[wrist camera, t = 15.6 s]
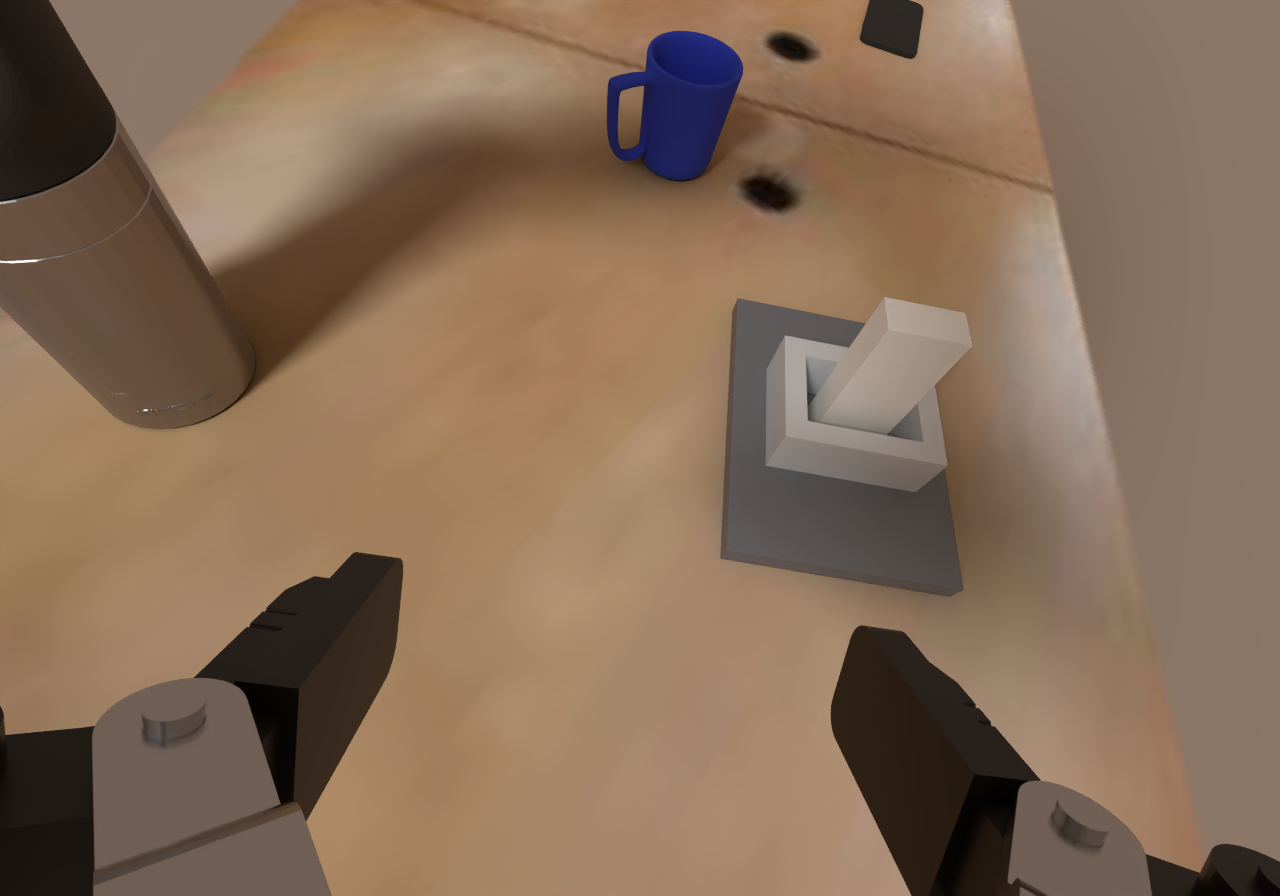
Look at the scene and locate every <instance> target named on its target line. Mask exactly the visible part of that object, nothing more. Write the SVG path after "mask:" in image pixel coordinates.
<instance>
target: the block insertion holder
mask: <svg viewBox="0 0 1280 896" xmlns="http://www.w3.org/2000/svg"><path fill="white" fill-rule="evenodd" d="M864 326H865V324H864V323H859V322H854V321H849V320H844V319H839V318H834V317H829V316H824V315H819V314H814V313H809V312H804V311H799V310H794V309H789V308H784V307H779V306H774V305H769V304H764V303H759V302H753V301H748V300H743V299H737V301H736V304H735V306H734V309H733V312H732V332H731V353H730V374H729V394H728V415H727V435H726V456H725V477H724V497H723V518H722V538H721V559H726V560H732V561H738V562H744V563H750V564H756V565H762V566H768V567H774V568H780V569H786V570H792V571H799V572H805V573H811V574H817V575H823V576H829V577H835V578H841V579H847V580H853V581H859V582H865V583H871V584H877V585H883V586H889V587H895V588H901V589H907V590H913V591H920V592H926V593H932V594H938V595H944V596H952V595H954V594H956V593H958V592H960V591H962V590H963V586H962V579H961V573H960V566H959V560H958V554H957V547H956V541H955V534H954V528H953V522H952V515H951V509H950V502H949V496H948V490H947V483H946V477H945V470H944V468H946V467H947V466H948V464H947V457H946V451H945V445H944V439H943V432H942V426H941V420H940V414H939V407H938V401H937V395H936V389H935V386H934V387H933V388H932V389H931V390H930V391H929V392H928V393H927V394H926V395H925V396H924V397H923V398H922V399H921V400H920V401H919V402H918V403H917V404H916V405H915V406H914V407H913V408H912V410H911V411H910V412H909V413H908V414H907V415H906V416H905V417H904V418H903V419H902V420H901V421H900V422H899V423H898V424H897V425H896V426H895V427H894V428H893V429H892V430H891V431H890V433H889V434H888V435H887V436H886V435H881V434H876V433H870V432H865V431H859V430H854V429H849V428H843V427H838V426H832V425H827V424H821V423H816V422H811V421H808V412H807V407H808V406H809V405H810V403H811V402H812V400H813V399H814V397H815V396H816V395H817V393H818V392H819V390H820V389H821V387H822V386H823V384H824V383H825V382H826V380H827V379H828V377H829V376H830V374H831V373H832V372H833V370H834V369H835V367H836V366H837V364H838V363H839V361H840V360H841V359H842V357H843V356H844V354H845V353H846V351H847V350H848V349H849V347H850V346H851V344H852V343H853V341H854V340H855V338H856V337H857V336H858V334H859V333H860V331H861V330H862V328H863V327H864Z"/></svg>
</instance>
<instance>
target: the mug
mask: <svg viewBox="0 0 1280 896" xmlns="http://www.w3.org/2000/svg"><path fill="white" fill-rule="evenodd" d="M742 74H743V65H742V62H741V60H740V58H739V56H738V55H737V54H736V52H735V51H734V50H733V49H731V48H730V47H729V46H728V45H726V44H725V43H723V42H721V41H719V40H717V39H715V38H713V37H710V36H708V35H705V34H701V33H697V32H690V31H672V32H667V33H664V34H661V35H659V36H657V37H656V38H654V39H653V40H652V41H651V43H650V44H649V47H648V50H647V61H646V72H632V73H627V74H622V75H618V76H615V77H612V78H611V79H610V80H609V82H608V96H607V131H608V139H609V144H610V147H611V149H612V151H613V152H614V154H615V155H616V156H617V157H618V158H619V159H621V160H623V161H631V160H634V159H637V158H638V157H640V156H641V157H642V159H643V161H644V163H645V165H646V166H647V167H648V168H649V169H650V170H651V171H653V172H654V173H655V174H657V175H659V176H661V177H664V178H667V179H671V180H689V179H692V178H695V177H697V176H698V175H700V174H701V173H702V172H703V171H704V170H705V169H706V167H707V166H708V164H709V162H710V160H711V157H712V154H713V152H714V149H715V146H716V144H717V141H718V138H719V136H720V133H721V130H722V128H723V125H724V122H725V120H726V117H727V114H728V112H729V109H730V106H731V104H732V101H733V98H734V96H735V93H736V90H737V88H738V85H739V82H740V80H741V77H742ZM637 86H644V96H643V107H642V119H641V131H640V142H639V144H638V145H637V146H635V147H633V148H631V149H621V148H620V146H619V142H618V108H619V96H620V93H621V91H623V90H626V89H629V88H632V87H637Z"/></svg>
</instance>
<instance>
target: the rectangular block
mask: <svg viewBox="0 0 1280 896" xmlns="http://www.w3.org/2000/svg"><path fill="white" fill-rule="evenodd" d="M971 347H972V341H971V337H970V332H969V327H968V323H967V318H966V313H963V312H958V311H953V310H948V309H943V308H937V307H932V306H927V305H922V304H917V303H912V302H907V301H902V300H897V299H892V298H887V297H884V298H883V300H882V301H881V303H880V304H879V305H878V307H877V308H876V310H875V311H874V313H873V314H872V315H871V317H870V318H869V320H868V321H867V323H866V324H865V326H864V327H863V328H862V330H861V331H860V333H859V334H858V336H857V337H856V338H855V340H854V341H853V343H852V344H851V346H850V347H849V349H848V350H847V351H846V353H845V354H844V356H843V357H842V359H841V360H840V361H839V363H838V364H837V366H836V367H835V369H834V370H833V372H832V373H831V374H830V376H829V377H828V379H827V380H826V382H825V383H824V384H823V386H822V387H821V389H820V390H819V392H818V393H817V395H816V396H815V397H814V399H813V400H812V402H811V403H810V405H809V406H808V407H807V412H808V421H811V422H816V423H821V424H827V425H832V426H838V427H843V428H849V429H854V430H859V431H865V432H870V433H876V434H881V435H886V436H887V435H888V434H889V433H890V431H891V430H892V429H893V428H894V427H895V426H896V425H897V424H898V423H899V422H900V421H901V420H902V419H903V418H904V417H905V416H906V415H907V414H908V413H909V412H910V411H911V410H912V408H913V407H914V406H915V405H916V404H917V403H918V402H919V401H920V400H921V399H922V398H923V397H924V396H925V395H926V394H927V393H928V392H929V391H930V390H931V389H932V388H933V387H934V386H935V384H936V383H937V382H938V381H939V380H940V379H941V378H942V377H943V376H944V375H945V374H946V373H947V372H948V371H949V370H950V369H951V368H952V367H953V366H954V365H955V364H956V363H957V361H958V360H959V359H960V358H961V357H962V356H963V355H964V354H965V353H966V352H967V351H968V350H969V349H970V348H971Z"/></svg>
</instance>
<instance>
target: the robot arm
mask: <svg viewBox="0 0 1280 896" xmlns="http://www.w3.org/2000/svg"><path fill="white" fill-rule="evenodd" d="M0 307H1V308H2V309H3V310H4V311H5V312H6V313H7V314H8V315H9V316H10V317H11V318H12V319H13V320H14V321H15V322H16V323H17V324H18V325H19V326H20V327H22V328H23V329H24V330H25V331H26V332H27V333H28V334H29V335H30V336H31V337H32V338H33V339H34V340H35V341H36V342H37V343H38V344H39V345H40V346H41V347H42V348H43V349H44V350H45V351H46V352H48V353H49V354H50V355H51V356H52V357H53V358H54V359H55V360H56V361H57V362H58V363H59V364H60V365H61V366H62V367H63V368H64V369H65V370H66V371H67V372H68V373H69V374H70V375H71V376H72V377H73V378H74V379H75V380H76V381H77V382H78V383H80V384H81V385H82V386H83V387H84V388H85V389H86V390H87V391H88V392H89V393H90V394H91V395H92V396H93V397H94V398H95V399H96V400H97V401H98V402H99V403H101V404H102V405H103V406H104V407H105V408H106V409H107V410H108V411H109V412H110V413H111V414H112V415H113V416H115V417H117V418H118V419H120V420H122V421H124V422H125V423H129V424H132V425H135V426H138V427H144V428H153V429H165V428H177V427H181V426H186V425H191V424H194V423H197V422H200V421H202V420H205V419H208V418H210V417H212V416H213V415H215V414H217V413H219V412H221V411H223V410H224V409H225V408H227V407H228V406H229V405H230V404H232V403H233V402H234V401H236V399H237V398H238V397H239V396H240V395H241V394H242V393H243V392H244V390H245V389H246V387H247V386H248V384H249V382H250V381H251V379H252V376H253V372H254V369H255V354H254V350H253V347H252V345H251V343H250V341H249V339H248V338H247V336H246V334H245V333H244V331H243V329H242V327H241V326H240V324H239V322H238V321H237V319H236V317H235V315H234V314H233V312H232V310H231V309H230V307H229V305H228V303H227V301H226V300H225V298H224V296H223V294H222V293H221V291H220V289H219V288H218V286H217V284H216V282H215V281H214V279H213V277H212V276H211V274H210V272H209V270H208V269H207V267H206V265H205V264H204V262H203V260H202V259H201V257H200V255H199V253H198V252H197V250H196V248H195V247H194V245H193V243H192V241H191V240H190V238H189V236H188V235H187V233H186V231H185V229H184V228H183V226H182V224H181V223H180V221H179V219H178V217H177V216H176V214H175V212H174V211H173V209H172V207H171V206H170V204H169V202H168V200H167V199H166V197H165V195H164V194H163V192H162V190H161V188H160V187H159V185H158V183H157V182H156V180H155V178H154V176H153V175H152V173H151V171H150V170H149V168H148V166H147V164H146V163H145V162H144V160H143V158H142V157H141V155H140V153H139V151H138V150H137V148H136V146H135V145H134V143H133V141H132V140H131V138H130V136H129V134H128V133H127V131H126V129H125V128H124V126H123V124H122V122H121V121H120V119H119V117H118V116H117V114H116V112H115V110H114V109H113V107H112V105H111V103H110V102H109V100H108V98H107V97H106V95H105V93H104V92H103V90H102V88H101V87H100V85H99V84H98V82H97V80H96V79H95V77H94V75H93V74H92V72H91V71H90V69H89V67H88V66H87V64H86V62H85V61H84V59H83V57H82V55H81V54H80V52H79V50H78V49H77V47H76V45H75V44H74V42H73V40H72V39H71V37H70V35H69V33H68V32H67V30H66V29H65V27H64V25H63V23H62V22H61V20H60V18H59V17H58V15H57V13H56V11H55V10H54V8H53V6H52V5H51V3H50V1H49V0H0ZM402 579H403V562H402V560H401V559H400V558H394V557H387V556H380V555H373V554H366V553H359V552H355V553H353V554H352V555H351V556H350V557H349V558H348V559H347V560H346V561H345V562H344V563H343V565H342V566H341V567H340V568H339V569H338V570H337V571H336V572H335V573H334V574H333V575H332V576H331V577H330V578H323V577H316V576H314V577H312V578H310V579H308V580H305V581H303V582H301V583H299V584H297V585H295V586H292V587H290V588H288V589H286V590H285V591H284V592H283V593H281V594H280V595H279V596H278V597H277V598H276V599H275V600H274V601H273V602H272V603H271V604H270V605H269V606H268V607H267V608H266V611H265V612H262V613H261V614H260V615H259V616H258V617H257V618H256V619H254V620H253V621H252V622H251V624H250V627H249V628H248V627H246V628H245V629H244V630H243V631H242V632H241V633H240V634H239V635H238V636H237V637H236V638H235V639H234V640H233V641H232V642H231V643H230V644H228V645H227V646H226V647H225V648H224V649H223V650H222V651H221V652H220V653H219V654H218V655H217V656H216V657H215V658H214V659H213V660H212V661H211V662H210V663H209V664H208V665H207V666H206V667H205V668H204V669H203V670H201V671H200V672H199V673H198V674H197V675H196V676H195V677H194V678H188V679H179V680H174V681H168V682H164V683H160V684H157V685H154V686H151V687H148V688H145V689H142V690H140V691H138V692H136V693H133V694H131V695H129V696H128V697H126V698H124V699H122V700H120V701H119V702H118V703H116V704H115V705H113V706H112V707H111V708H110V709H108V710H107V711H106V712H105V713H104V714H103V715H102V716H101V718H100V719H99V720H98V722H97V723H96V725H95V726H92V727H84V728H75V729H65V730H54V731H44V732H33V733H23V734H12V735H5V725H4V713H3V711H2V708H1V707H0V896H332V895H331V892H330V889H329V886H328V884H327V881H326V878H325V875H324V872H323V869H322V866H321V864H320V861H319V858H318V855H317V852H316V849H315V846H314V843H313V841H312V838H311V835H310V832H309V829H308V826H307V823H306V821H307V819H308V817H309V816H310V814H311V812H312V810H313V808H314V807H315V805H316V803H317V801H318V799H319V798H320V796H321V794H322V792H323V790H324V789H325V787H326V785H327V783H328V782H329V780H330V778H331V776H332V774H333V773H334V771H335V769H336V767H337V765H338V764H339V762H340V760H341V758H342V756H343V755H344V753H345V751H346V749H347V748H348V746H349V744H350V742H351V740H352V739H353V737H354V735H355V733H356V731H357V730H358V728H359V726H360V724H361V722H362V721H363V719H364V717H365V715H366V714H367V712H368V710H369V708H370V706H371V705H372V703H373V701H374V699H375V697H376V696H377V694H378V692H379V690H380V688H381V687H382V685H383V683H384V681H385V679H386V677H387V675H388V673H389V670H390V667H391V664H392V661H393V657H394V653H395V648H396V641H397V632H398V621H399V610H400V600H401V589H402ZM975 705H976V704H975V703H974V702H973V701H972V699H971V698H970V697H969V696H968V695H967V694H966V692H965V691H964V690H963V689H962V688H961V686H960V685H959V684H958V683H957V682H956V681H954V680H953V679H951V678H950V677H949V676H947V675H946V674H945V673H943V672H942V671H941V670H939V669H938V668H937V667H935V666H934V665H933V664H931V663H930V662H929V661H928V660H927V659H926V658H925V656H924V655H923V654H922V653H921V652H920V650H919V649H918V648H917V647H916V646H915V644H914V643H913V642H912V641H911V639H910V638H909V637H908V636H907V635H906V634H905V633H904V632H902V631H897V630H890V629H883V628H876V627H869V626H859V627H857V628H856V629H855V631H854V632H853V634H852V636H851V639H850V642H849V646H848V649H847V652H846V656H845V659H844V662H843V666H842V669H841V672H840V676H839V679H838V682H837V686H836V689H835V692H834V696H833V700H832V705H831V725H832V730H833V734H834V737H835V739H836V741H837V743H838V745H839V747H840V750H841V752H842V754H843V756H844V758H845V760H846V762H847V764H848V766H849V768H850V770H851V772H852V774H853V776H854V778H855V780H856V782H857V784H858V786H859V789H860V791H861V793H862V795H863V797H864V799H865V801H866V803H867V805H868V807H869V809H870V811H871V813H872V815H873V817H874V819H875V821H876V823H877V826H878V828H879V830H880V832H881V834H882V836H883V838H884V840H885V842H886V844H887V846H888V848H889V850H890V852H891V854H892V856H893V858H894V860H895V863H896V865H897V867H898V869H899V871H900V873H901V875H902V877H903V879H904V881H905V883H906V885H907V887H908V889H909V891H910V893H911V895H912V896H1280V862H1279V861H1277V860H1275V859H1273V858H1271V857H1268V856H1266V855H1264V854H1261V853H1259V852H1257V851H1254V850H1251V849H1248V848H1245V847H1241V846H1236V845H1230V844H1221V845H1217V846H1215V847H1214V848H1213V849H1212V850H1211V852H1210V854H1209V856H1208V858H1207V860H1206V862H1205V864H1204V866H1203V868H1202V870H1201V872H1200V873H1198V872H1195V871H1193V870H1190V869H1187V868H1184V867H1181V866H1178V865H1175V864H1173V863H1170V862H1167V861H1164V860H1161V859H1158V858H1156V857H1153V856H1150V855H1147V854H1145V852H1144V849H1143V847H1142V845H1141V843H1140V842H1139V840H1138V839H1137V838H1136V836H1135V835H1134V834H1133V833H1132V832H1131V830H1130V829H1129V828H1128V827H1127V826H1126V825H1125V824H1124V823H1123V822H1121V821H1120V820H1119V819H1118V818H1117V817H1116V816H1114V815H1113V814H1112V813H1111V812H1110V811H1108V810H1107V809H1105V808H1104V807H1102V806H1101V805H1100V804H1098V803H1096V802H1095V801H1093V800H1091V799H1090V798H1088V797H1086V796H1084V795H1082V794H1080V793H1078V792H1076V791H1074V790H1072V789H1069V788H1067V787H1064V786H1061V785H1058V784H1055V783H1051V782H1045V781H1041V780H1040V779H1039V778H1038V777H1037V775H1036V774H1035V773H1034V772H1033V771H1032V770H1031V768H1030V767H1029V766H1028V765H1027V764H1026V763H1025V761H1024V760H1023V759H1022V758H1021V757H1020V756H1019V754H1018V753H1017V752H1016V751H1015V750H1014V749H1013V747H1012V746H1011V745H1010V744H1009V743H1008V741H1007V740H1006V739H1005V738H1004V737H1003V736H1002V734H1001V733H1000V732H999V731H998V730H997V729H996V727H993V726H991V722H990V720H989V719H988V718H987V717H986V716H985V715H984V713H983V712H982V711H981V710H980V709H979V708H976V707H975Z"/></svg>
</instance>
